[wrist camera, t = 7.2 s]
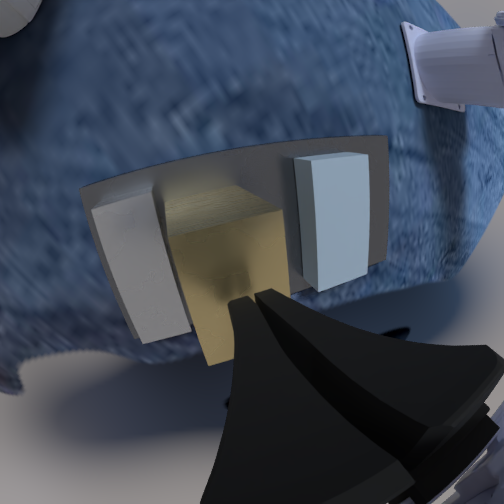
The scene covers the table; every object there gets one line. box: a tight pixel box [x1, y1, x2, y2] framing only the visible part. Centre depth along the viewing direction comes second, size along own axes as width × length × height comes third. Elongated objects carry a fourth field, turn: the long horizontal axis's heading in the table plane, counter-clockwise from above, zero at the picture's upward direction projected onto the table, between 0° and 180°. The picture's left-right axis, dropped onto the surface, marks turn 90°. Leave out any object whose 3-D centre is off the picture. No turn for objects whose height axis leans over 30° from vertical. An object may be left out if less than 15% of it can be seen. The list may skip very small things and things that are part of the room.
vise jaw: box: [294, 152, 370, 292], centre depth 16 cm, size 4×8×2 cm, turn 9°
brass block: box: [164, 185, 290, 366], centre depth 13 cm, size 4×6×6 cm, turn 9°
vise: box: [79, 135, 389, 344], centre depth 16 cm, size 20×10×3 cm, turn 99°
